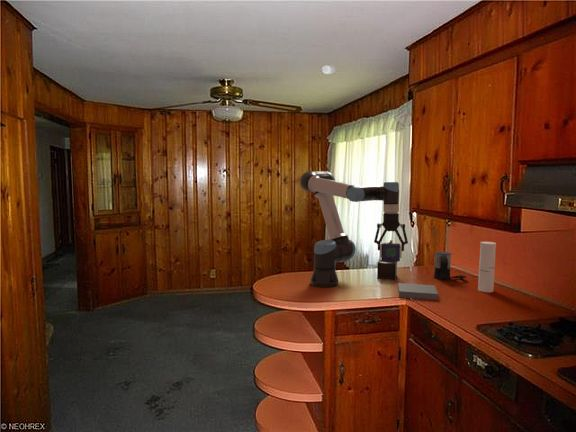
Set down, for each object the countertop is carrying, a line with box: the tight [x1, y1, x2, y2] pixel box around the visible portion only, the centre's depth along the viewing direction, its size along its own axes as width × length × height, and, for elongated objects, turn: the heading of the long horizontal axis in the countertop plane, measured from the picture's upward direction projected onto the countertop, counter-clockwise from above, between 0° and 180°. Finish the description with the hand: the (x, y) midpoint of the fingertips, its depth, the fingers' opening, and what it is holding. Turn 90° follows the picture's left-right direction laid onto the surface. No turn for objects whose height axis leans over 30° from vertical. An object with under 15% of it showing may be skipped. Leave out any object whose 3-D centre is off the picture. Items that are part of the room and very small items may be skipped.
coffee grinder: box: [376, 259, 399, 281], centre depth 237 cm, size 16×11×18 cm
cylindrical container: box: [477, 241, 497, 293], centre depth 208 cm, size 7×7×25 cm
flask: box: [380, 239, 401, 263], centre depth 203 cm, size 9×3×11 cm, turn 86°
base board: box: [397, 282, 439, 301], centre depth 203 cm, size 18×15×3 cm
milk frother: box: [433, 251, 467, 280], centre depth 232 cm, size 14×16×15 cm
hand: (390, 257), depth 204 cm, fingers closed on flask, 9 cm apart
